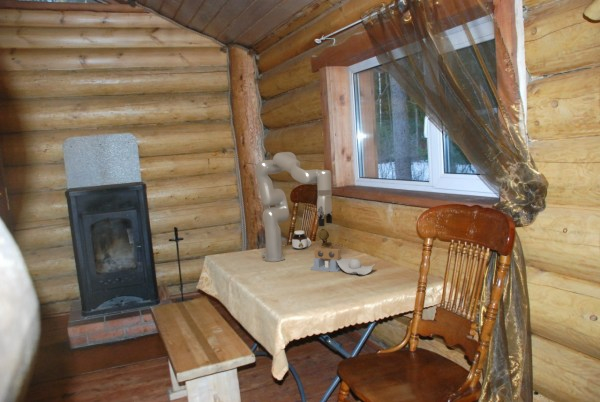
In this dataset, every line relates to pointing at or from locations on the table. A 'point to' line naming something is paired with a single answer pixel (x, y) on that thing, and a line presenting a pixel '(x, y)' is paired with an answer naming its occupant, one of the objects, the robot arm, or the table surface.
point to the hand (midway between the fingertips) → (325, 224)
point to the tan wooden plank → (327, 253)
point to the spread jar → (300, 240)
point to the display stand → (326, 265)
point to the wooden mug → (325, 240)
